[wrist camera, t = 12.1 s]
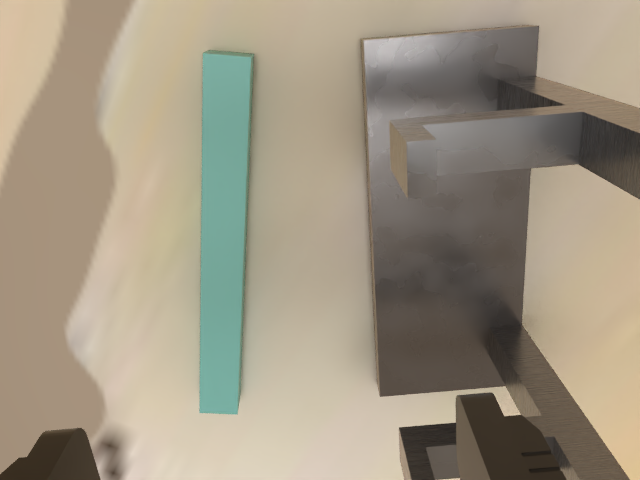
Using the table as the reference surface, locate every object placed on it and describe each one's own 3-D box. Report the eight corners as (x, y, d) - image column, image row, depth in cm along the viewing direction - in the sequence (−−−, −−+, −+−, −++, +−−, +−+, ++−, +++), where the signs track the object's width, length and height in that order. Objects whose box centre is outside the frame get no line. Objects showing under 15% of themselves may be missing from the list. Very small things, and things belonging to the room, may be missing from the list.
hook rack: (528, 24, 32) (917, 62, 12) (510, 371, 40) (722, 739, 20) (360, 38, 32) (468, 99, 12) (377, 382, 40) (456, 762, 20)
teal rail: (254, 53, 32) (250, 57, 30) (240, 391, 40) (237, 414, 38) (209, 49, 32) (202, 53, 30) (204, 389, 40) (199, 412, 38)
